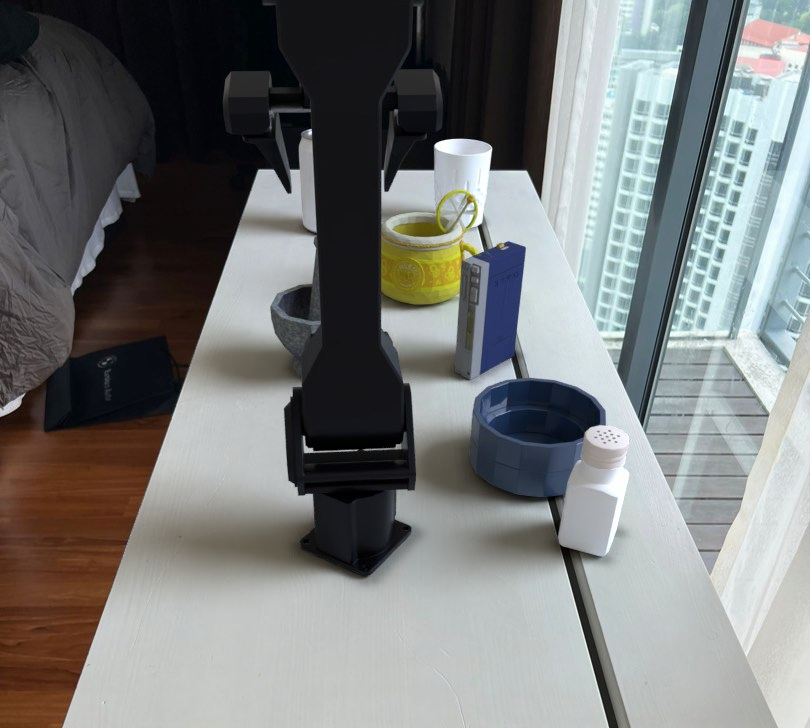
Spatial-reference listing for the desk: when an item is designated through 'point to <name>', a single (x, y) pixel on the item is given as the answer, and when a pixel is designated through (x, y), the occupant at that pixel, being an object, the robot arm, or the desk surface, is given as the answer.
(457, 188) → the white cup
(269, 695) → the desk surface
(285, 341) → the mortar and pestle
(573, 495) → the pepper shaker
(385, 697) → the desk surface
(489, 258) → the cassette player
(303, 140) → the can
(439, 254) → the mug
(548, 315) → the desk surface
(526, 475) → the bowl
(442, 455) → the desk surface
